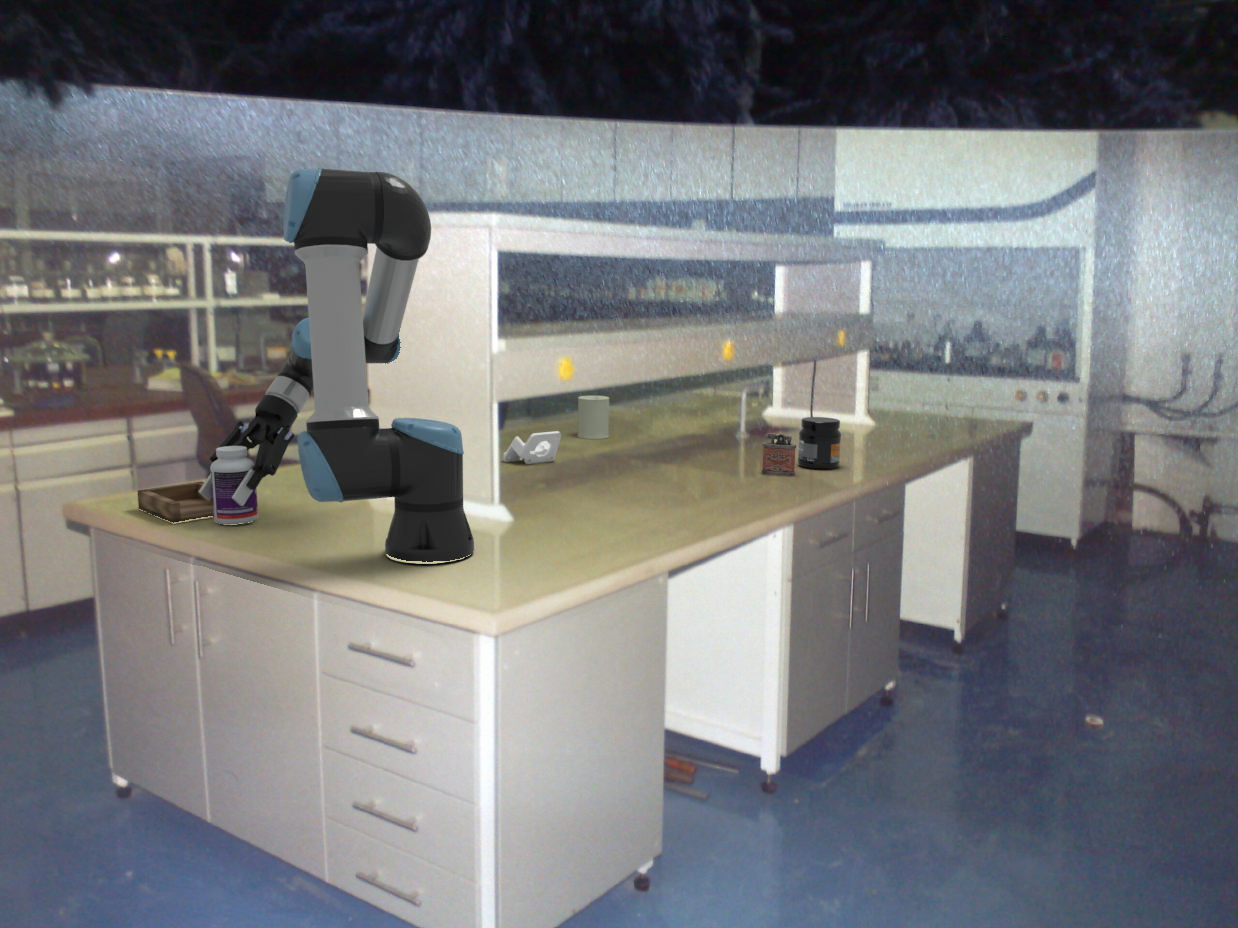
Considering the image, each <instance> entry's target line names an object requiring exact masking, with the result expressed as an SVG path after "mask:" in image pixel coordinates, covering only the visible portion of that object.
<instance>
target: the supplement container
mask: <svg viewBox="0 0 1238 928" xmlns="http://www.w3.org/2000/svg"><path fill="white" fill-rule="evenodd" d="M800 423H801V425H800V426H801V429H800V430H799V432H798V450H797V451H798V453H797V454H798V457H797V463H798V465H799V466H800V467H802V468H805V469H808V470H809V469H810V470H820V471H822V470H823V471H824V470H835V469H836V468H838V467H839V465H840V459H841V458H840V455H841V440H842V439H841V438H842V433H841V431H840V430H839V429H840V428H841V421H840V419H837V418H834V417H825V416H813V417H812V416H810V417H809V416H808V417H803V418H801V422H800Z"/></svg>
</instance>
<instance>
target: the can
mask: <svg viewBox="0 0 1238 928" xmlns="http://www.w3.org/2000/svg"><path fill="white" fill-rule="evenodd" d="M577 403H578V404H577V405H578V407H577V409H578V413H577V414H578V415H577V417H578V418H577V423H578V424H577V425H578V426H577V430H578V431H577V438H580V439H583V440H604V439H609V438H610V434H609V433H610V432H609V430H610V428H609V426H610V425H609V422H610V421H609V420H610V414H609V413H610V396H605V395H581V396H578V397H577Z"/></svg>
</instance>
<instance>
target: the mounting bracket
mask: <svg viewBox="0 0 1238 928" xmlns="http://www.w3.org/2000/svg"><path fill="white" fill-rule="evenodd" d="M561 437H562V434H561V432H560V431H559V430H555V431H545V432H536V433H534V432H533V433H531V434H530V436H529V437H528V438H527V440H526V442H524V441H522V439H521V438H520V437H519V436H518V435H517V436H515V437H514V438H513V440H512V442H511V444H509V447H508V448H507V450H506V451H505V452H503V455H502V457H503V458H502V459H503V461H504V462H505V463H510V461H512V462H518V461H520V462H521V461H524V463H525V464H526V465H530V464H539V463H547V462H553V461H555V460H556V456H557V453H558V449H559V444H560V441H561Z"/></svg>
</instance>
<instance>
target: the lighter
mask: <svg viewBox="0 0 1238 928" xmlns="http://www.w3.org/2000/svg"><path fill="white" fill-rule="evenodd" d="M765 439H767V440H770V442H766V441H765V442H762V449H763V450H762V469H761V474H762V475H766V474H768V475H769V476H777V475H779V476H778V477H780V476H782V477H795V476H796V471H795V465H796V463H795V462H796V449H797V444H796V443H791V442H792V439H793V438H792V435H787V434H785V433H779V434H777V433H766V434H765ZM775 440H776V441H775Z"/></svg>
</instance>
